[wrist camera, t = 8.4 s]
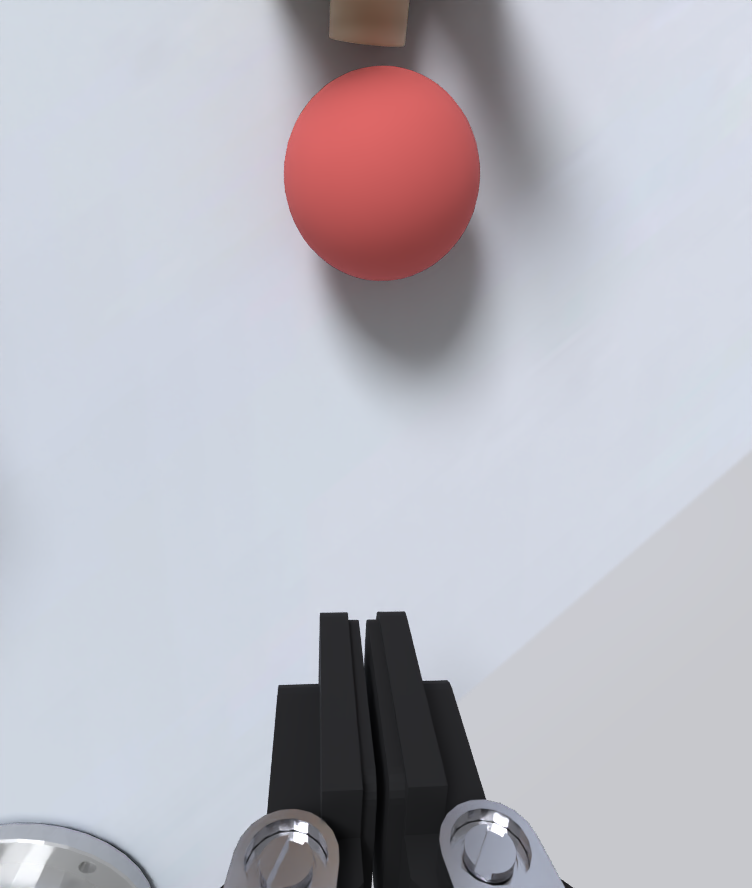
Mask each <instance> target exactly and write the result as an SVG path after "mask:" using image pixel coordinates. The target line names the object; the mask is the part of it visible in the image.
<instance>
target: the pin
mask: <svg viewBox="0 0 752 888" xmlns="http://www.w3.org/2000/svg"><path fill="white" fill-rule="evenodd" d="M409 1H410V0H330V22H329V38H331V39H334V40H338V41H343V42H349V43H356V44H364V45H374V46H386V47H403V46H405V40H406V30H407V21H408V11H409Z"/></svg>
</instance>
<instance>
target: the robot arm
mask: <svg viewBox="0 0 752 888" xmlns="http://www.w3.org/2000/svg"><path fill="white" fill-rule="evenodd" d="M372 872H373V883H374V888H573V887H571V886H570V885H569V884H567V883H566V882H564V881H563V880H561V879H560V877H559V875H558V873H557V872H556V870H555V868H554V866H553V864H552V862H551V860H550V859H549V857H548V855H547V853H546V851H545V849H544V847H543V845H542V844H541V842H540V840H539V838H538V836H537V834H536V833H535V832H534V830H533V829H532V827H531V826H530V824H529V823H528V822H527V821H526V820H525V819H524V818H523V817H521V815H519V814H518V813H517V812H516V811H515V810H513V809H511V808H509V807H507V806H505V805H503V804H501V803H497V802H493V801H489V800H486V798H485V794H484V791H483V788H482V785H481V781H480V778H479V775H478V772H477V768H476V765H475V762H474V759H473V755H472V752H471V749H470V746H469V742H468V739H467V736H466V733H465V729H464V726H463V723H462V720H461V716H460V713H459V710H458V707H457V703H456V700H455V697H454V694H453V690H452V687H451V685H450V683H449V682H448V681H447V680H441V681H422V677H421V673H420V669H419V665H418V661H417V657H416V653H415V649H414V645H413V641H412V636H411V632H410V628H409V624H408V620H407V616H406V613H405V612H377V616H376V620H367V621H366V637H365V658H364V663H363V654H362V646H361V637H360V628H359V620H348V613H347V612H343V613H320V636H319V684H300V685H279V687H278V695H277V706H276V718H275V729H274V740H273V752H272V763H271V775H270V786H269V797H268V809H267V815H265V816H263V817H262V818H260V819H259V820H257V821H256V822H254V823H253V824H251V826H250V827H249V828H248V829H247V830H246V831H245V833H244V834H243V835H242V836H241V837H240V840H239V842H238V844H237V846H236V848H235V850H234V853H233V856H232V860H231V863H230V867H229V870H228V873H227V877H226V880H225V884H224V885H223V886H222V887H221V888H371V886H372ZM0 888H151V887H150V884H149V882H148V880H147V879H146V877H145V876H144V874H143V873H142V871H141V870H140V869H139V867H138V866H137V865H136V864H134V863H133V862H132V861H131V860H130V859H129V858H128V857H127V856H126V855H125V854H124V853H122V852H121V851H119V850H118V849H116V848H114V847H113V846H111V845H110V844H108V843H107V842H104V841H102V840H100V839H98V838H95V837H93V836H91V835H89V834H86V833H83V832H79V831H76V830H72V829H69V828H65V827H60V826H53V825H46V824H36V823H12V824H3V825H0Z"/></svg>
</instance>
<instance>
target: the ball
mask: <svg viewBox="0 0 752 888" xmlns="http://www.w3.org/2000/svg"><path fill="white" fill-rule="evenodd" d="M479 182H480V162H479V155H478V149H477V144H476V141H475V138H474V135H473V132H472V129H471V127H470V125H469V122H468V120H467V118H466V117H465V115H464V113H463V112H462V110H461V109H460V107H459V106H458V105H457V103H456V102H455V101H454V100H453V98H452V97H451V96H450V95H449V94H448V93H447V92H446V91H445V90H444V89H443V88H441V87H440V86H439V85H438V84H436V83H435V82H433V81H432V80H431V79H429V78H427V77H425V76H423V75H421V74H419V73H417V72H414V71H412V70H408V69H405V68H401V67H395V66H371V67H365V68H360V69H356V70H353V71H350V72H348V73H346V74H344V75H342V76H340V77H338V78H336V79H334V80H333V81H331V82H330V83H328V84H327V85H325V86H324V87H323V88H322V89H321V90H320V91H319V92H318V93H317V94H316V95H315V96H314V97H313V98H312V99H311V100H310V101H309V103H308V104H307V105H306V106H305V108H304V109H303V111H302V112H301V114H300V116H299V117H298V119H297V121H296V123H295V125H294V128H293V130H292V133H291V136H290V138H289V141H288V145H287V151H286V156H285V162H284V184H285V193H286V197H287V201H288V205H289V209H290V212H291V215H292V217H293V220H294V222H295V224H296V226H297V228H298V230H299V231H300V233H301V235H302V237H303V238H304V240H305V241H306V242H307V244H308V245H309V246H310V247H311V248H312V249H313V250H314V251H315V252H316V253H317V255H319V256H320V257H321V258H322V259H323V260H324V261H326V262H327V263H328V264H330V265H331V266H333V267H334V268H336V269H338V270H340V271H342V272H344V273H346V274H348V275H351V276H354V277H357V278H361V279H366V280H374V281H389V280H397V279H402V278H406V277H409V276H412V275H414V274H417V273H419V272H421V271H423V270H426V269H427V268H429V267H430V266H432V265H434V264H435V263H436V262H438V261H439V260H440V259H441V258H442V257H443V256H445V255H446V254H447V253H448V252H449V251H450V250H451V249H452V247H453V246H454V245H455V244H456V243H457V241H458V240H459V239H460V237H461V236H462V234H463V232H464V231H465V229H466V227H467V225H468V223H469V221H470V219H471V216H472V214H473V212H474V208H475V204H476V200H477V196H478V192H479Z"/></svg>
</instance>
